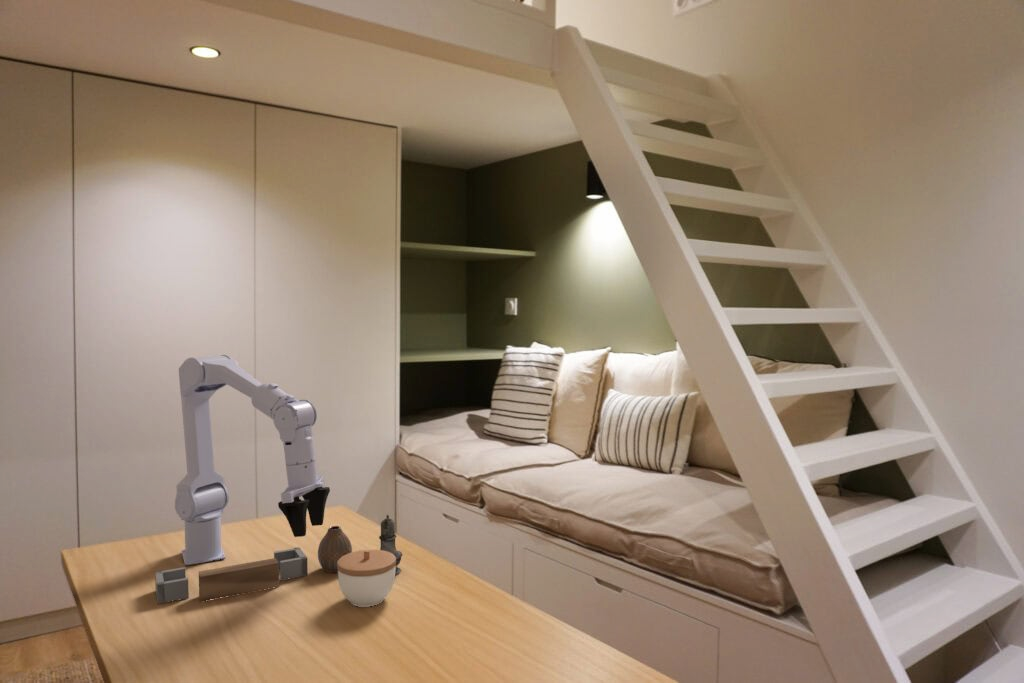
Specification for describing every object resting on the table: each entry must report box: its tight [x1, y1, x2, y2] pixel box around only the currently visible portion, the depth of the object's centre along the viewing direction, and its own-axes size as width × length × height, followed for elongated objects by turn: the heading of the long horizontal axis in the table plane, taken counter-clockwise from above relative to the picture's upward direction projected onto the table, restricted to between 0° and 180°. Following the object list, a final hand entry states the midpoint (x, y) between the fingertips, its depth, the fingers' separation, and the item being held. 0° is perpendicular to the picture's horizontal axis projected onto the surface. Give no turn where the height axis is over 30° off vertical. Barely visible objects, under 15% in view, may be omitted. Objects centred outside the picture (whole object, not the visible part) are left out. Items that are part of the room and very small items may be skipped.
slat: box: [198, 557, 280, 602], centre depth 133 cm, size 3×14×5 cm, turn 119°
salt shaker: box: [378, 514, 403, 576], centre depth 143 cm, size 6×6×12 cm
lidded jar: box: [337, 549, 396, 608], centre depth 129 cm, size 11×11×9 cm
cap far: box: [273, 546, 309, 581], centre depth 143 cm, size 7×5×4 cm
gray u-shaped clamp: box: [154, 566, 190, 605], centre depth 132 cm, size 7×5×4 cm
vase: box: [317, 525, 353, 574], centre depth 144 cm, size 7×7×9 cm
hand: (309, 530), depth 138 cm, fingers open, 7 cm apart
